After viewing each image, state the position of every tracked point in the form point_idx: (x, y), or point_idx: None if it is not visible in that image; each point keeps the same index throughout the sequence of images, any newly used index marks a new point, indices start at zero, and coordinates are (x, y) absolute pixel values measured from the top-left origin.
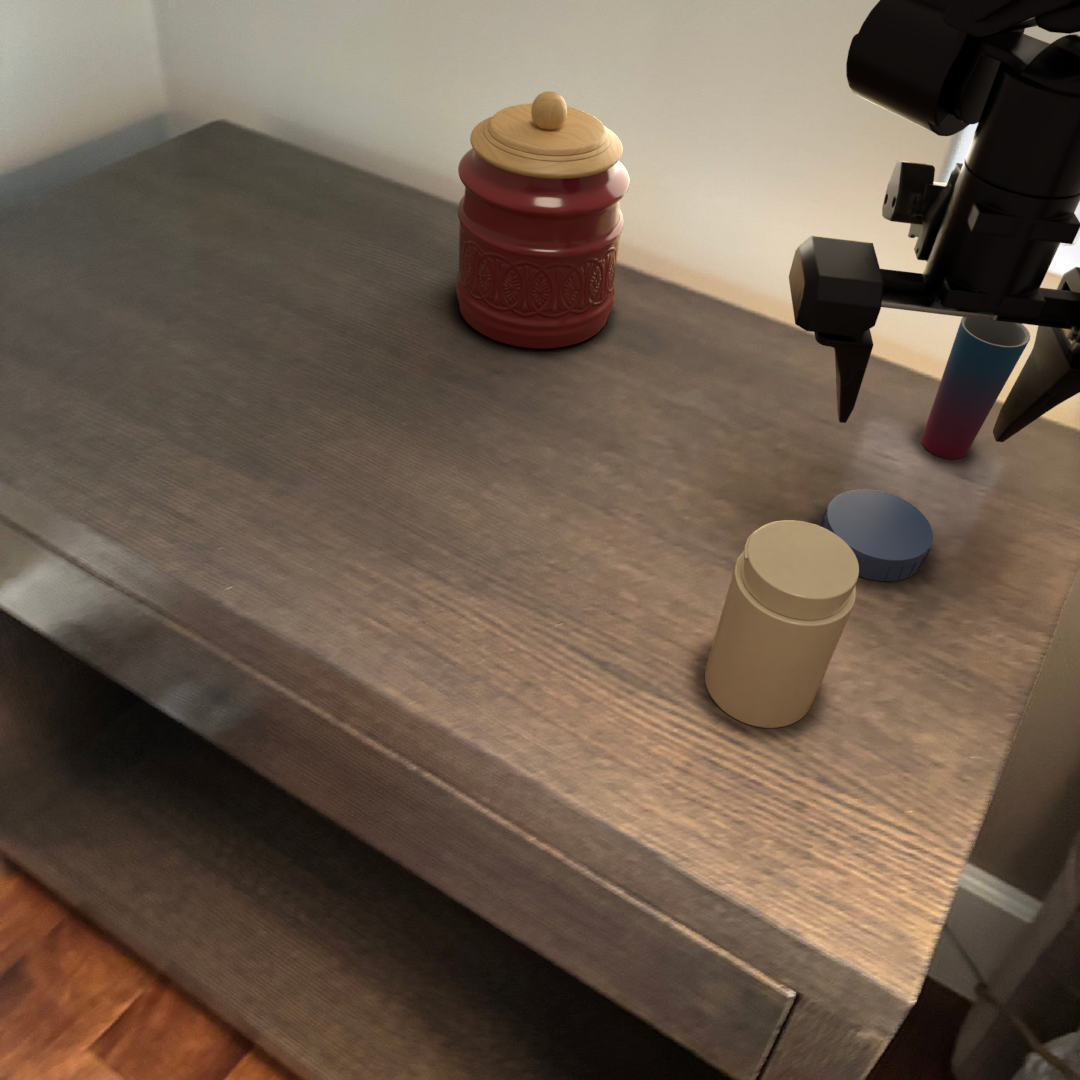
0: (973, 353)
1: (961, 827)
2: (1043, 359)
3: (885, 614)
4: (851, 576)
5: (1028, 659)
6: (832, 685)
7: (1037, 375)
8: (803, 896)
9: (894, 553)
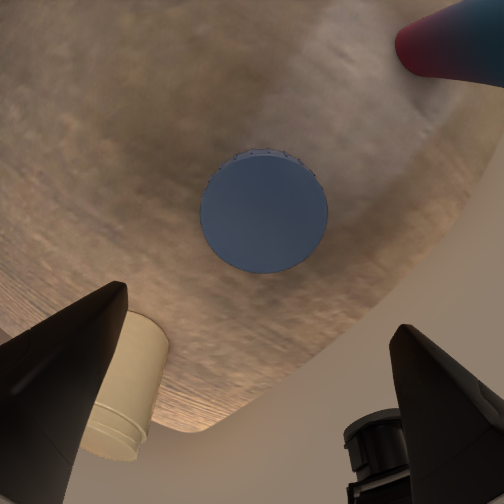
0: (501, 55)
1: (237, 406)
2: (462, 473)
3: (245, 292)
4: (131, 458)
5: (344, 329)
6: (183, 344)
7: (444, 457)
8: (156, 415)
9: (263, 264)
